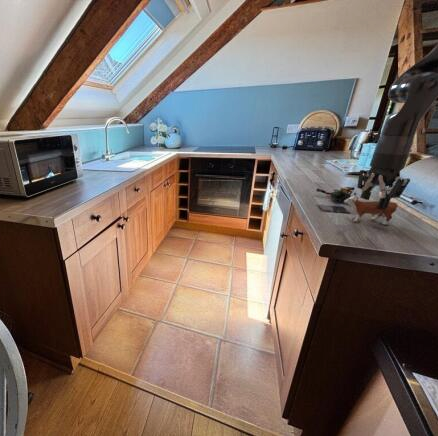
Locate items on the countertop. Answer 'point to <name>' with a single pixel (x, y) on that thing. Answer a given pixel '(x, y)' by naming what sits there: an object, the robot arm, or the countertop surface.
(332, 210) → the slate coaster
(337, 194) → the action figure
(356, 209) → the bull figurine
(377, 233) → the countertop surface
